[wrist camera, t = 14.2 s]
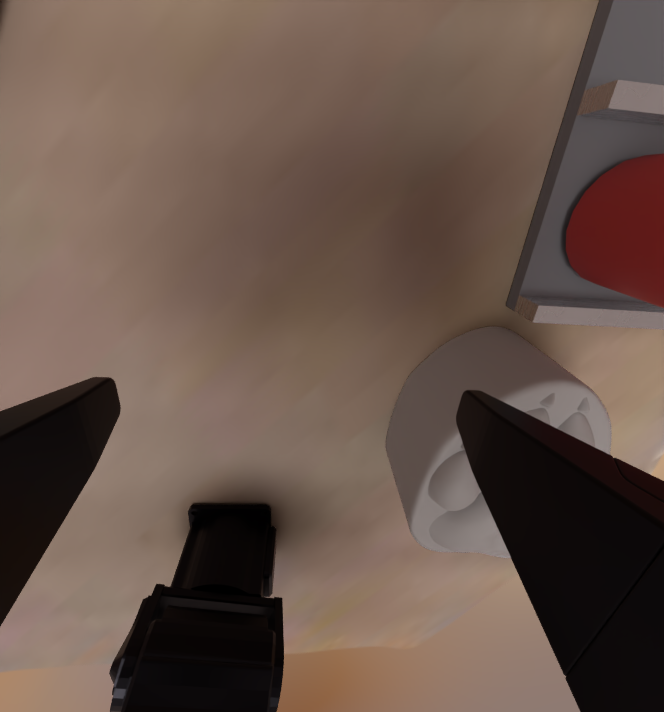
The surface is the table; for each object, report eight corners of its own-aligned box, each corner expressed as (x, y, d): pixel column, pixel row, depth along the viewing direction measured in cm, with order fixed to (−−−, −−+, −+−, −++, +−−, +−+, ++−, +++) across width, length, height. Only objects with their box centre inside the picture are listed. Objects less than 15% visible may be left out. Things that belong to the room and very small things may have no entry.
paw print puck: (373, 465, 28) (399, 574, 20) (428, 312, 22) (492, 381, 15) (491, 479, 30) (557, 586, 22) (570, 340, 24) (695, 416, 16)
